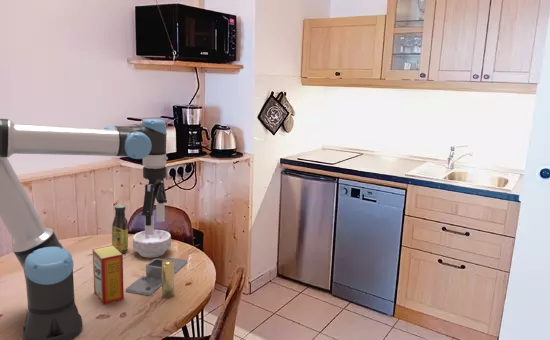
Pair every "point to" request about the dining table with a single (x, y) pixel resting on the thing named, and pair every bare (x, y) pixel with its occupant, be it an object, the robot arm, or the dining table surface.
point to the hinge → (153, 276)
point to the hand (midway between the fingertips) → (155, 227)
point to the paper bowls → (152, 243)
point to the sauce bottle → (120, 230)
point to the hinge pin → (168, 278)
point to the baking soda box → (108, 274)
